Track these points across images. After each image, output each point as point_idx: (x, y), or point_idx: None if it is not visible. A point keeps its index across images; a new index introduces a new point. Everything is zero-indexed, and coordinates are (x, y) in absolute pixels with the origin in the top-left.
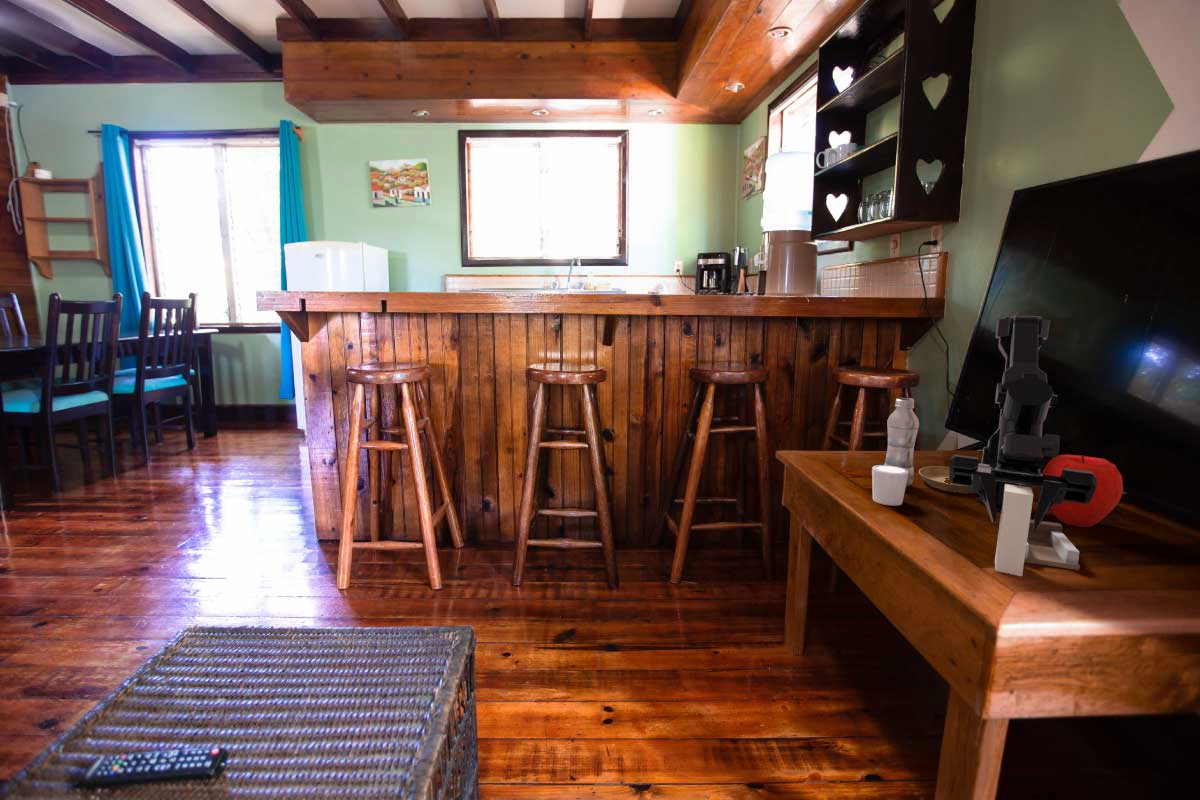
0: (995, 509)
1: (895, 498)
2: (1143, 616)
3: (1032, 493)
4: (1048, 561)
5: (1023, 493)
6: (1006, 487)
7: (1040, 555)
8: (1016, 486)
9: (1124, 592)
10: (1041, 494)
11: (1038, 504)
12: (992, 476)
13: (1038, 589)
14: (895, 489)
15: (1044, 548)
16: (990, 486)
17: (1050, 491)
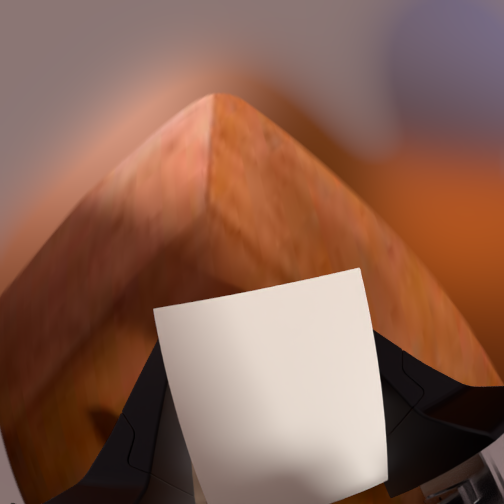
0: None
1: None
2: (25, 267)
3: (170, 379)
4: None
5: (231, 313)
6: (373, 398)
7: None
8: (313, 487)
9: (46, 366)
10: (144, 482)
11: (157, 420)
12: (489, 421)
13: (167, 258)
14: None
15: (196, 495)
16: (441, 401)
17: (92, 498)
